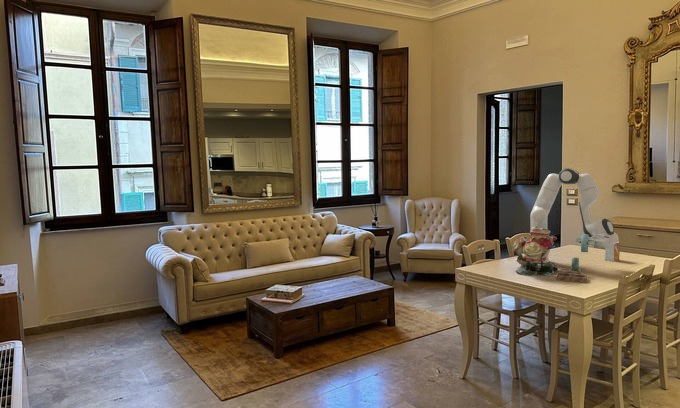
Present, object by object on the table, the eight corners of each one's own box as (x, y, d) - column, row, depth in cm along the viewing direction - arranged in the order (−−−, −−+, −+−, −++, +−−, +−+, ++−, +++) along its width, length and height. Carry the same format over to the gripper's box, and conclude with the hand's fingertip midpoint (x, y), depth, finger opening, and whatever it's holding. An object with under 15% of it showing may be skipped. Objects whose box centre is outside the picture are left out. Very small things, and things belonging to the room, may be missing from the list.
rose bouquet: (511, 266, 324) (511, 223, 321) (557, 269, 313) (558, 224, 310) (509, 275, 300) (509, 228, 297) (560, 278, 289) (561, 229, 286)
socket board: (556, 279, 285) (556, 275, 285) (558, 276, 294) (558, 272, 294) (586, 282, 278) (586, 278, 277) (587, 278, 286) (587, 274, 286)
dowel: (580, 252, 301) (581, 234, 300) (581, 250, 304) (581, 234, 303) (587, 252, 299) (588, 235, 298) (588, 251, 303) (588, 234, 302)
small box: (613, 261, 332) (614, 243, 331) (604, 260, 337) (605, 242, 336) (619, 260, 336) (620, 241, 335) (610, 258, 342) (611, 240, 341)
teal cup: (558, 274, 299) (559, 258, 298) (559, 272, 305) (560, 255, 304) (580, 276, 293) (580, 259, 292) (580, 273, 299) (581, 257, 298)
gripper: (584, 233, 316) (569, 235, 310) (613, 238, 297) (598, 240, 291) (583, 242, 316) (569, 244, 310) (612, 248, 298) (598, 250, 292)
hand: (583, 242), depth 301 cm, fingers closed on dowel, 4 cm apart
